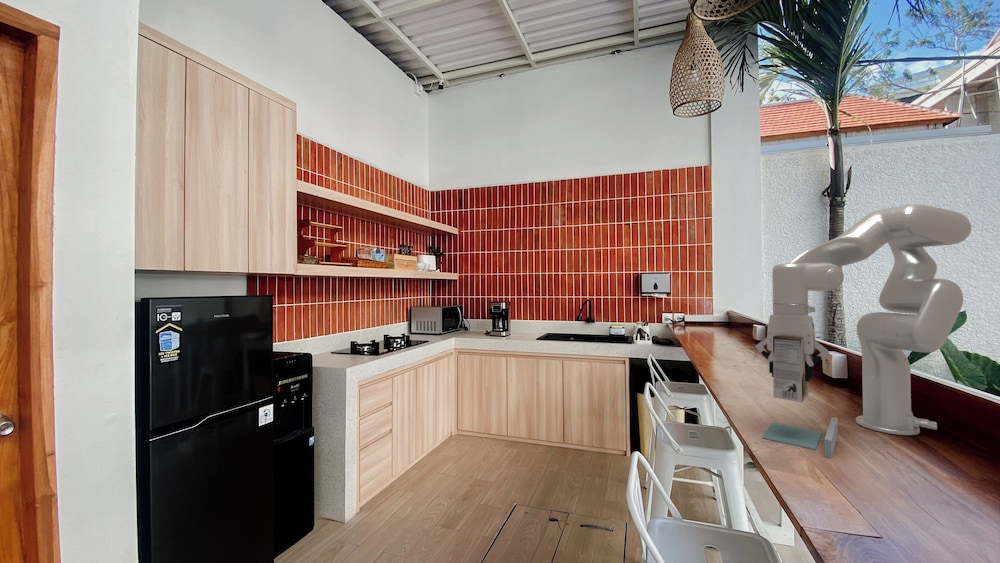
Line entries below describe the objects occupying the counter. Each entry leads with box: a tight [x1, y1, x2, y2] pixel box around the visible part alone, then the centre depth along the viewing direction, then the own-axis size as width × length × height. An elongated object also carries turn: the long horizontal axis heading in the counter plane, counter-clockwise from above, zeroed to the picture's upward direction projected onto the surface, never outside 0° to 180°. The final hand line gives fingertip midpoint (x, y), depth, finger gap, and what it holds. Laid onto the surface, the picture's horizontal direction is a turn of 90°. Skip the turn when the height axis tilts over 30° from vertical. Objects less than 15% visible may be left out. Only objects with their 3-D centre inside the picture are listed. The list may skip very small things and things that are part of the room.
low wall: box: [824, 417, 839, 459], centre depth 99 cm, size 1×20×4 cm, turn 136°
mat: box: [761, 422, 823, 451], centre depth 104 cm, size 11×14×1 cm
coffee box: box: [772, 336, 809, 403], centre depth 104 cm, size 9×6×16 cm
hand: (790, 377), depth 104 cm, fingers closed on coffee box, 6 cm apart
